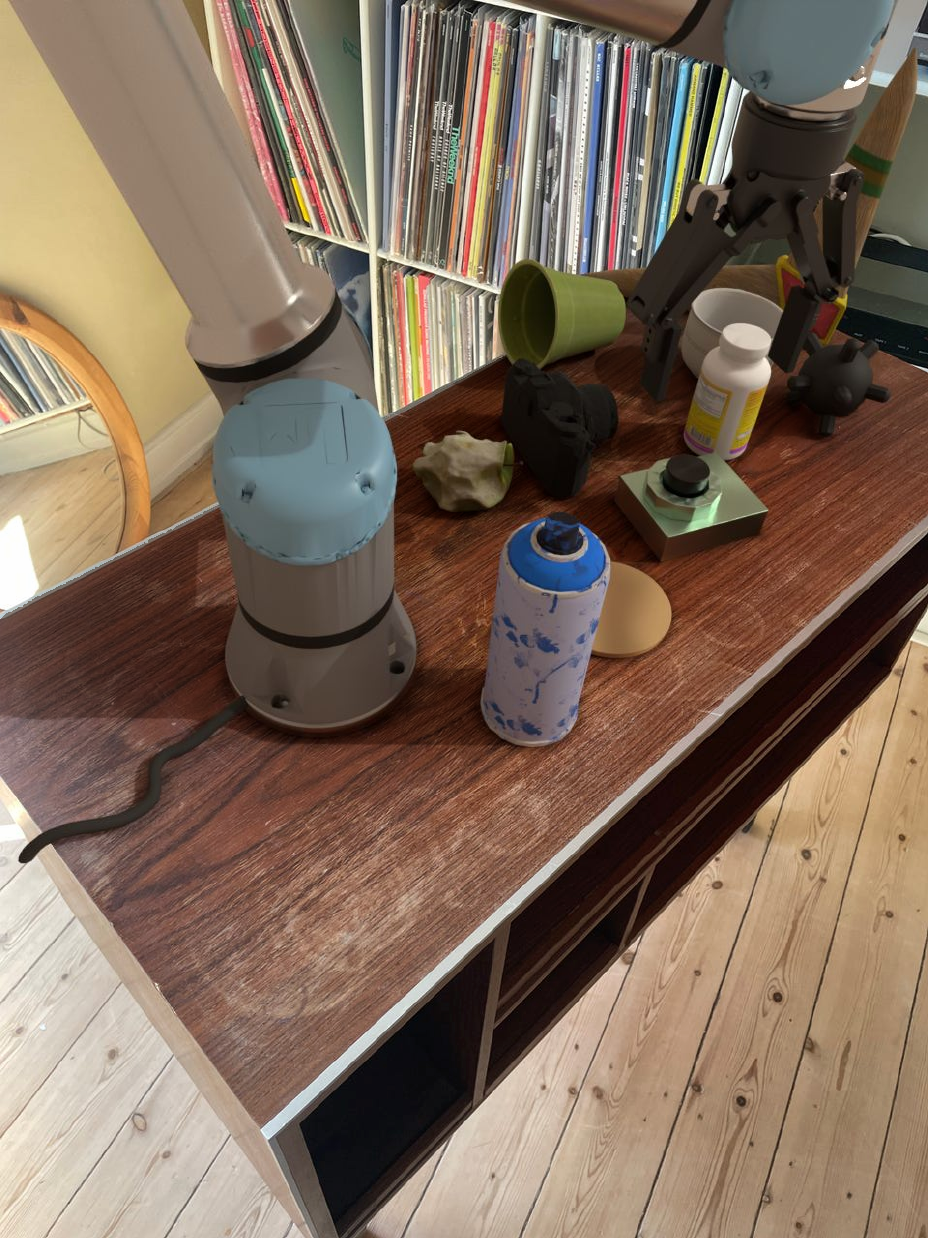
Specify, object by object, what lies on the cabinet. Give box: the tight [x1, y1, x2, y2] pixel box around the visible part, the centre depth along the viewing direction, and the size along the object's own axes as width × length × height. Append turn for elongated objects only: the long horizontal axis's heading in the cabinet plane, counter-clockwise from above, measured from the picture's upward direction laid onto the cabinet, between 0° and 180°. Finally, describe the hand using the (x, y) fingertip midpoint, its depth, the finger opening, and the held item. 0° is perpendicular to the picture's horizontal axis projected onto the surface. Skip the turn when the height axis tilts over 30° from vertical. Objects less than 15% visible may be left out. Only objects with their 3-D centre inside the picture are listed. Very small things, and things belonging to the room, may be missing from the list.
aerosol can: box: [479, 511, 611, 748], centre depth 67 cm, size 8×8×20 cm
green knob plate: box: [613, 452, 770, 563], centre depth 89 cm, size 11×9×5 cm
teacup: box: [680, 288, 783, 379], centre depth 103 cm, size 14×11×8 cm
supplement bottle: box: [683, 323, 772, 461], centre depth 94 cm, size 7×7×13 cm
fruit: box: [412, 430, 524, 513], centre depth 89 cm, size 9×9×8 cm
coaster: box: [591, 560, 672, 659], centre depth 82 cm, size 11×11×1 cm
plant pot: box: [497, 258, 627, 370], centre depth 105 cm, size 12×12×11 cm
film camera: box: [500, 358, 620, 500], centre depth 93 cm, size 15×10×9 cm, turn 22°
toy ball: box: [784, 332, 892, 438], centre depth 99 cm, size 11×11×12 cm
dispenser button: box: [662, 453, 710, 498], centre depth 86 cm, size 4×4×2 cm
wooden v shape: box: [579, 46, 919, 346], centre depth 108 cm, size 22×41×6 cm
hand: (717, 377), depth 78 cm, fingers open, 12 cm apart
